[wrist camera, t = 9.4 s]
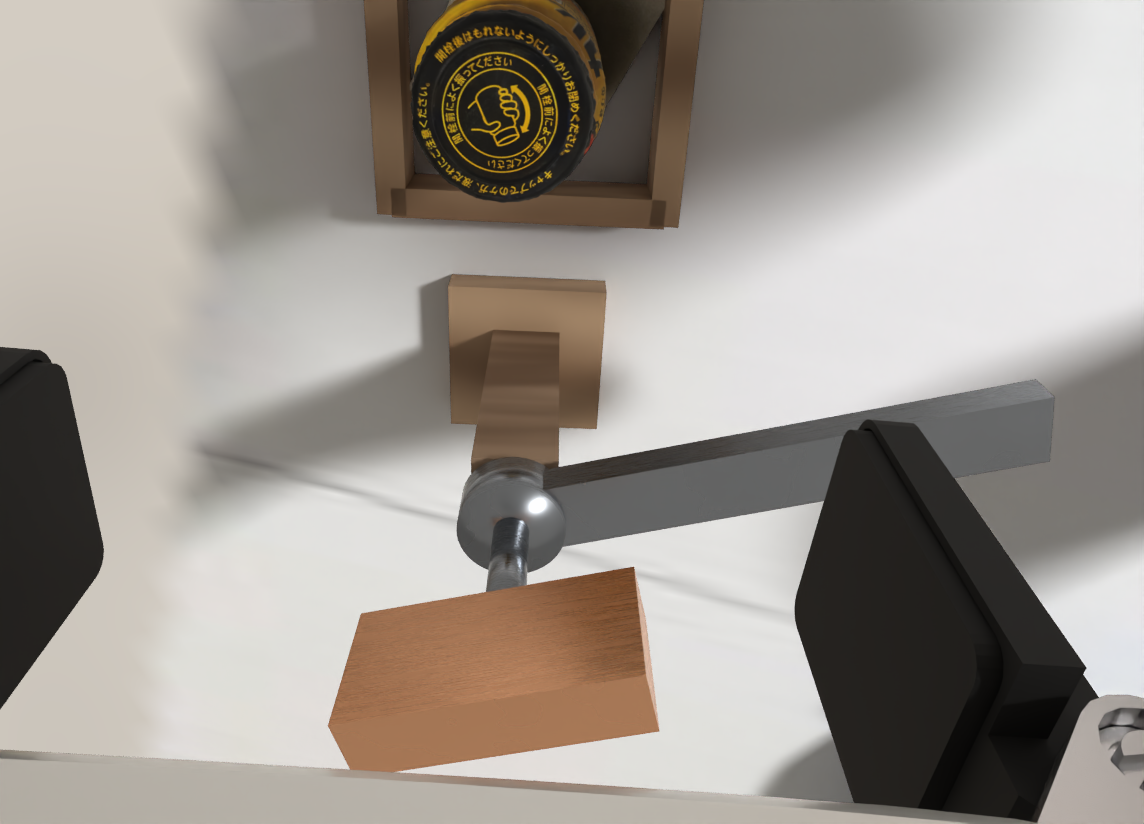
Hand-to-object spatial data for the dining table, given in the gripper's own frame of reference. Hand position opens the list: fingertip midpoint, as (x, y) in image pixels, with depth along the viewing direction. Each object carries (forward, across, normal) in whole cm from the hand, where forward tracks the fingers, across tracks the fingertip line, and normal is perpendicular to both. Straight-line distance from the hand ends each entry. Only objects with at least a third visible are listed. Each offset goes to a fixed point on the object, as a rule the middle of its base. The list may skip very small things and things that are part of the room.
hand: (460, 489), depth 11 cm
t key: (+16, -7, +9) cm, 20 cm away
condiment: (+28, 0, -2) cm, 28 cm away
